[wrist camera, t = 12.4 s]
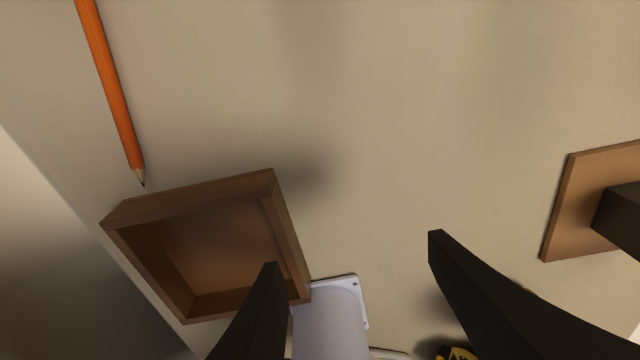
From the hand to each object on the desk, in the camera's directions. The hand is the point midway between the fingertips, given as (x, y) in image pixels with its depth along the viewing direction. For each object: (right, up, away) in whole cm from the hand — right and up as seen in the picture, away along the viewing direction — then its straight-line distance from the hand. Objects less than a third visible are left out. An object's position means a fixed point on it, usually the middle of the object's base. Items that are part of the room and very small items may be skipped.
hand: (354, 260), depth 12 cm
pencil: (-15, +12, +3) cm, 19 cm away
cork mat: (+25, +2, +11) cm, 27 cm away
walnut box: (-10, -2, +11) cm, 15 cm away
